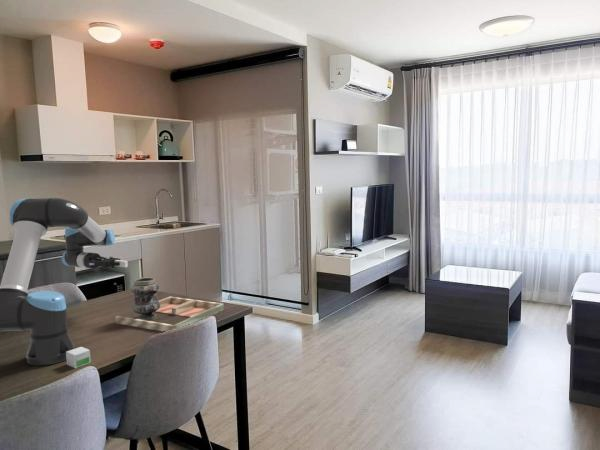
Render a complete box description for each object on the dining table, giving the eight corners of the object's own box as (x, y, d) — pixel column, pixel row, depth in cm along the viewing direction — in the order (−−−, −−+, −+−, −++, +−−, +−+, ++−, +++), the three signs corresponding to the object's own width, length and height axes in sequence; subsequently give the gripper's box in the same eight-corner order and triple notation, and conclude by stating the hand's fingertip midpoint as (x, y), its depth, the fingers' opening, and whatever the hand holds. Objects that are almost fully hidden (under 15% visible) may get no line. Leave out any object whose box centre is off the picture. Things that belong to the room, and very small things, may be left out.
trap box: (115, 323, 201) (115, 316, 201) (170, 302, 232) (169, 296, 231) (174, 333, 187) (174, 326, 187) (223, 309, 218) (223, 303, 217)
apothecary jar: (155, 312, 215) (153, 274, 213) (165, 318, 206) (163, 279, 204) (129, 318, 208) (126, 279, 206) (138, 324, 198) (135, 283, 196)
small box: (75, 369, 155) (74, 354, 154) (66, 365, 158) (65, 351, 158) (91, 363, 160) (90, 349, 159) (82, 359, 163) (81, 346, 162)
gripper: (101, 265, 225) (137, 269, 215) (78, 271, 213) (115, 275, 203) (100, 250, 224) (136, 253, 214) (77, 255, 212) (114, 258, 202)
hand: (126, 264), depth 208 cm, fingers closed
